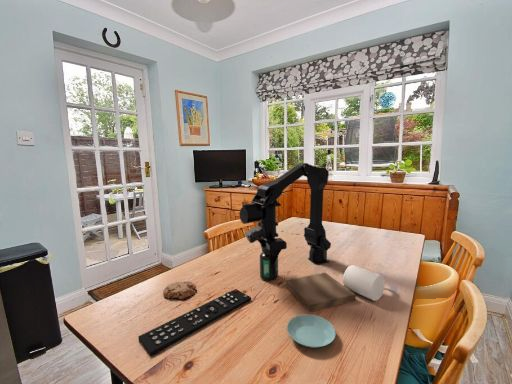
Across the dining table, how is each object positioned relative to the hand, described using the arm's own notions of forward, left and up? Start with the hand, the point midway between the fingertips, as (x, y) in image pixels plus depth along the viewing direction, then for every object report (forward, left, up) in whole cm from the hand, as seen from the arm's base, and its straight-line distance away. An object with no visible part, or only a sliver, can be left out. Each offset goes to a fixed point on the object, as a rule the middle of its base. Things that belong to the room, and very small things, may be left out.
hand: (268, 260), depth 95 cm
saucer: (+2, +33, -7) cm, 34 cm away
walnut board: (-11, +16, -6) cm, 20 cm away
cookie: (+32, -1, -7) cm, 33 cm away
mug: (-26, +21, -7) cm, 34 cm away
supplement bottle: (0, 0, -7) cm, 7 cm away
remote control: (+27, +15, -7) cm, 32 cm away
